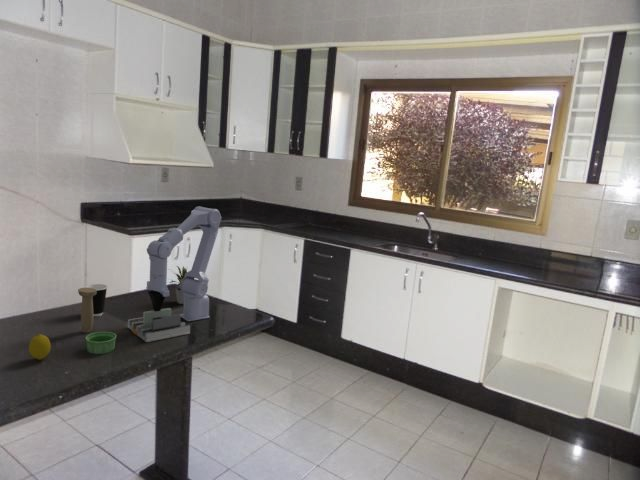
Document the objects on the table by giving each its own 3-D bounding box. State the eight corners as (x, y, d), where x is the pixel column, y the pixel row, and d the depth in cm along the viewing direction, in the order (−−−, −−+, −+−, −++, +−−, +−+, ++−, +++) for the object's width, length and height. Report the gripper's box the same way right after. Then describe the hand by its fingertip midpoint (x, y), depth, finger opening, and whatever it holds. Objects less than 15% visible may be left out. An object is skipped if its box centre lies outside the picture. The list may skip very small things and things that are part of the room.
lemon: (35, 355, 142) (34, 330, 141) (54, 356, 142) (54, 331, 141) (25, 363, 136) (24, 337, 135) (45, 364, 137) (44, 338, 136)
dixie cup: (80, 316, 176) (80, 288, 174) (91, 310, 184) (91, 283, 182) (100, 318, 176) (101, 290, 174) (111, 312, 184) (111, 285, 182)
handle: (86, 335, 159) (86, 293, 157) (75, 330, 163) (75, 289, 160) (99, 332, 164) (99, 290, 161) (87, 327, 167) (88, 286, 164)
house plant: (157, 300, 203) (158, 263, 200) (184, 295, 214) (186, 260, 211) (176, 308, 194) (177, 270, 191) (203, 303, 205) (205, 266, 202)
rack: (169, 320, 181) (170, 302, 180) (189, 333, 169) (190, 315, 168) (127, 327, 170) (127, 309, 169) (145, 342, 158) (146, 322, 157)
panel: (169, 323, 175) (169, 307, 174) (171, 324, 174) (171, 309, 173) (142, 327, 168) (143, 311, 167) (144, 329, 167) (145, 313, 166)
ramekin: (82, 355, 145) (82, 342, 144) (88, 344, 153) (88, 331, 153) (114, 354, 147) (114, 341, 147) (117, 343, 156) (118, 331, 155)
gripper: (139, 270, 170) (138, 306, 172) (156, 280, 160) (154, 318, 162) (157, 268, 175) (156, 303, 177) (175, 278, 164) (174, 315, 167)
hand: (157, 310), depth 170 cm, fingers closed
